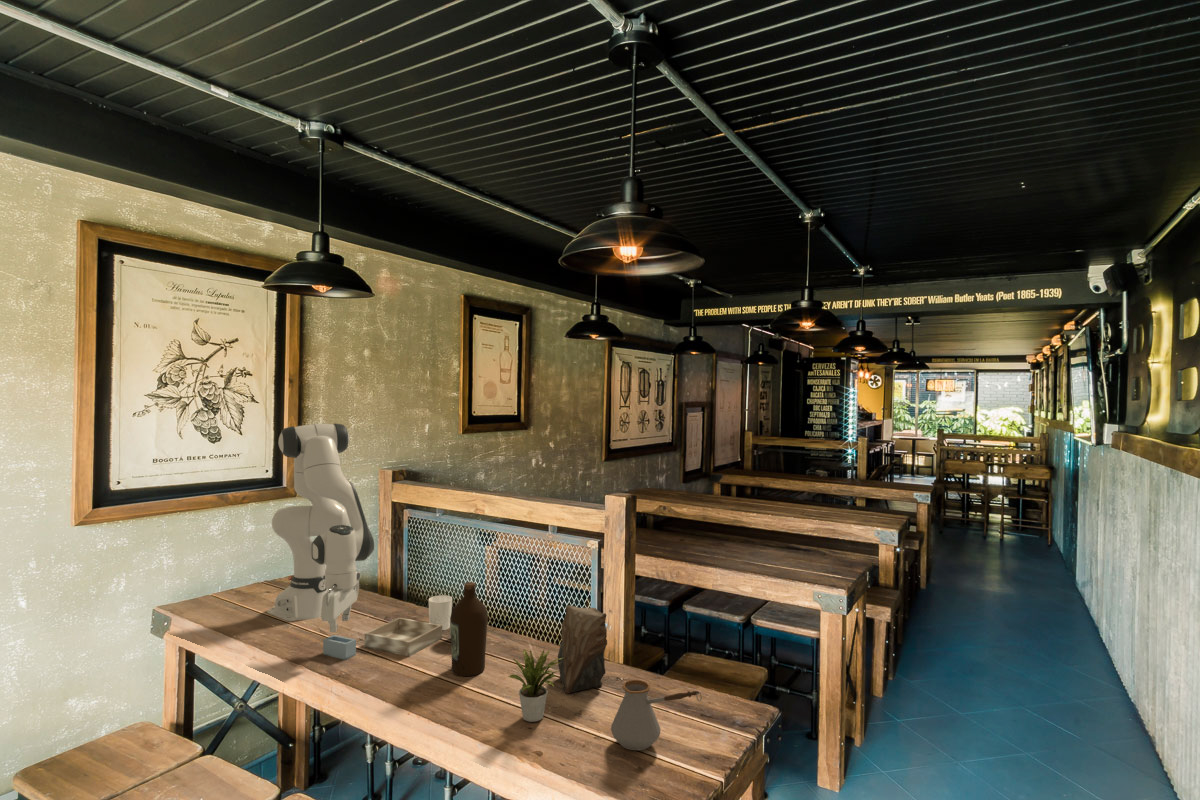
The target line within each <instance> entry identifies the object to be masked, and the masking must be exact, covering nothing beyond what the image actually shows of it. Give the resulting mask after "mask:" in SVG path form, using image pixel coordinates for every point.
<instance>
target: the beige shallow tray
mask: <svg viewBox="0 0 1200 800" xmlns="http://www.w3.org/2000/svg"><path fill="white" fill-rule="evenodd" d="M442 639H443V630H442V625H438V624H432V623H430V622H428V621H427V622H425V621H420V620H416V619H409V618H404V617H397V618H396V619H395V618H394V619H393V620H391V621H389V622H387V623H384V624H382V625H380V626H378V627H376V628H373V629H371V630H369V631H367V632H364V642H363V643H364V648H368V649H374V650H377V651H378V650H379V651H381V652H382V651H383V652H386V653H391V654H396V655H401V656H405V657H409V658H410V657H412V656H413V655H415V654H417V653H419V652H422V650H424V649H426V648H428V647H430V646H431V645H433V644H435V643H437V642H439V641H440V640H442Z"/></svg>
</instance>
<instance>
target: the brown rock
mask: <svg viewBox="0 0 1200 800" xmlns="http://www.w3.org/2000/svg"><path fill="white" fill-rule="evenodd" d="M564 615H565V616H564V619H563V620H562V624H561V638H562V641H561V642H560V645H559V649H558V653H557V659H559V658H563V659H560V660H557V662H559V664H557V665H558V666H557V667H558V671H559V679H560V681H561V682H560V683H562V688H563V690H564V692H565V693H566V695H567V694H572V693H575V692H580V691H583V690H589V689H591V688H598V687H600V686H602V685H603V681H602V679H603V678H604V676H605V674H606V666H605V663H606V659H605V657H604V656H605V651H606V649H607V648H606V647H607V645H608V640H607V628H606V626H607V625H606V620H607V614H606V613H603V612H601V611H599V610H598V609H597V608H596V607H579V606H578V607H577V606H576V605H569V604H568V605H566V607H565V614H564Z"/></svg>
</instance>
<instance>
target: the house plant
mask: <svg viewBox="0 0 1200 800" xmlns="http://www.w3.org/2000/svg"><path fill="white" fill-rule="evenodd" d="M550 651H551V650H548V651H547V652H545V649H543V651H542V652H541V654H540V655H539V657H538V659H537V661H536V663H535V660H534V657H533V652H532V649H530V650H529V654H528V651H527V650H526V649H524V648H523V659H524V661H521V662H524V666H523V665H522V664H521V662H520V661H518V660H517V659H516V658H512V660H513V661H514V662H515V663H516V665H517V666H518V667H519V668H520V669H519V668H518V667H517V666H515V668H517V670H519V671H520V673H521V675H522V676H523V677H524V679H525V680H524V679H523V678H522V677H521V676H519V675H517V674H510V675H508V678H512V679H515V680H517V681H520V682H521V683H522V685H521V686H522V687H521V688H520V689H519V690H518V696H519V701H520V708H521V714H522V719H523V720H524V721H526V722H529V723H530V722H538V721H541V720H542V719H543V718H544V714H545V708H546V702H547V696H548V691H549V690H548V688H546V687H545V686H546V685H547V684H548V685H551V686H552V687H553V688H555V685H554V683H553V681H551V680H549V679H552V678H555V677H557V675H556V673H560V671H559V670H558V671H552V670H549V669H550V668H551V667H552V668H555V666H554V665H558V664H559V662H558V660H560V659H563V658H559V659H558V658H556V659H554V660H552V661H550V662H549V663H548V664H547V665H545V663H546V662H547V657H548V655H549V654H550ZM544 665H545V666H544ZM547 674H548V675H547ZM544 676H545V677H544Z"/></svg>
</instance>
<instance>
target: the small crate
mask: <svg viewBox="0 0 1200 800" xmlns="http://www.w3.org/2000/svg"><path fill="white" fill-rule="evenodd" d="M322 644H323V645H322V647H323V648H322V649H323V650H322V655H324V656H327V657H332V658H335V659H339V660H340V659H341V660H344V661H347V660H349V659H350V658H353V657H355V656H356V655H357V639H356V638H355V639H354V638H350V637H346V636H341V635H335V634H333V635H330V636H328V637H326V638H323V641H322Z"/></svg>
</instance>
